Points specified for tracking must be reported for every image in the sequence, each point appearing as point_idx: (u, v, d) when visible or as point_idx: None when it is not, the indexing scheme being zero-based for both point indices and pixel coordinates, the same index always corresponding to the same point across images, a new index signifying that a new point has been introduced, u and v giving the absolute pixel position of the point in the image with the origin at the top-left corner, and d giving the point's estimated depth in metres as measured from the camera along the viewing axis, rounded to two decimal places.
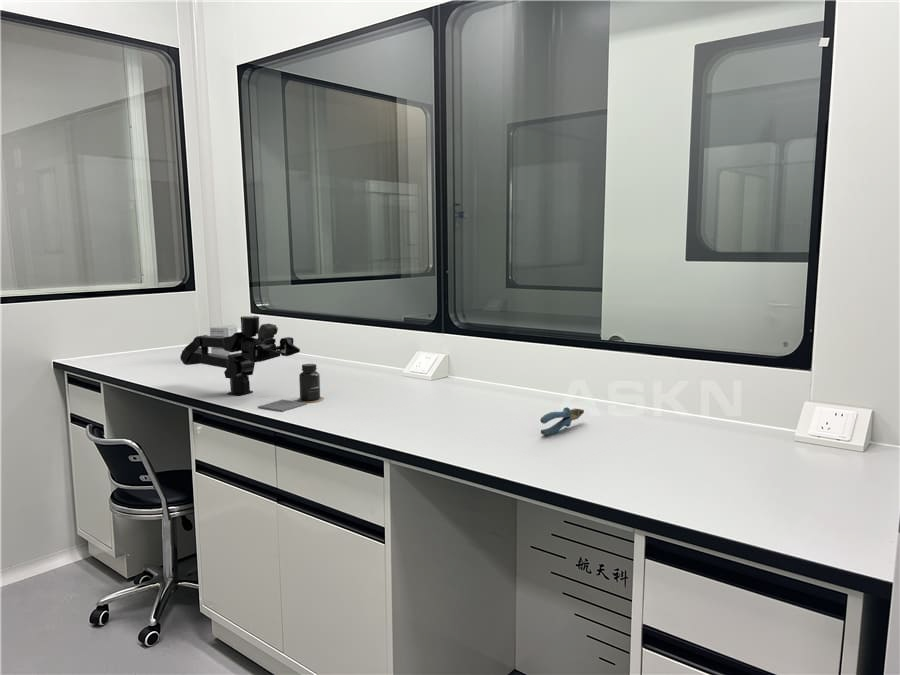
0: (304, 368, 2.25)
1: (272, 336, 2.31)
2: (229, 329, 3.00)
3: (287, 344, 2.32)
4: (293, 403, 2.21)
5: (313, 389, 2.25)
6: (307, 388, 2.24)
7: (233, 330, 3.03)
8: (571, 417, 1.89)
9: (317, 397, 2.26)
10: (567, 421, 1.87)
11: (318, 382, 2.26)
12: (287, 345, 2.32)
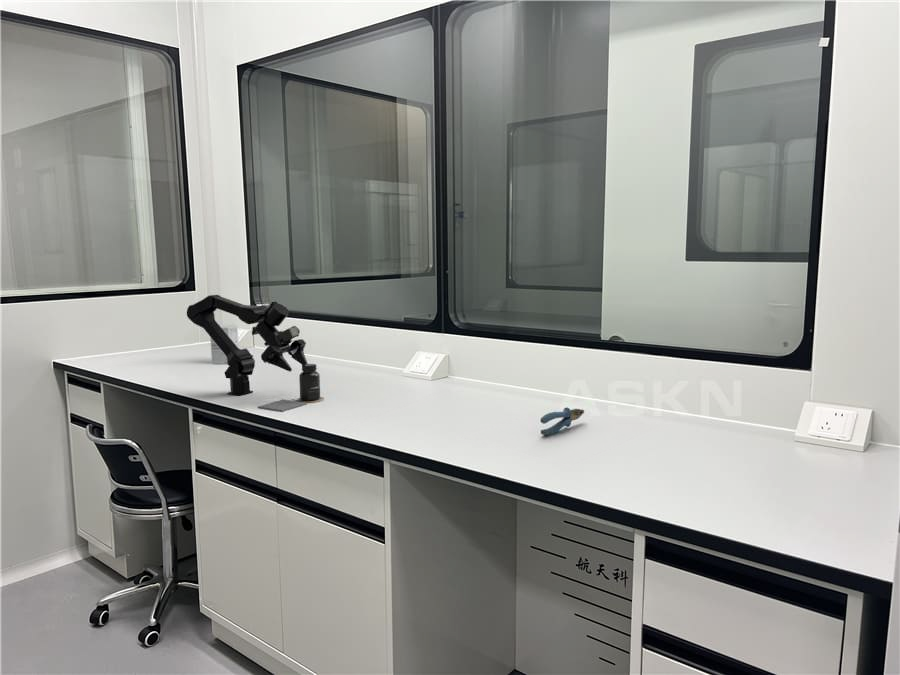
0: (304, 368, 2.25)
1: (291, 338, 2.30)
2: (229, 329, 3.00)
3: (299, 350, 2.33)
4: (293, 403, 2.21)
5: (313, 389, 2.25)
6: (307, 388, 2.24)
7: (233, 330, 3.03)
8: (571, 417, 1.89)
9: (317, 397, 2.26)
10: (567, 421, 1.87)
11: (318, 382, 2.26)
12: (298, 351, 2.34)
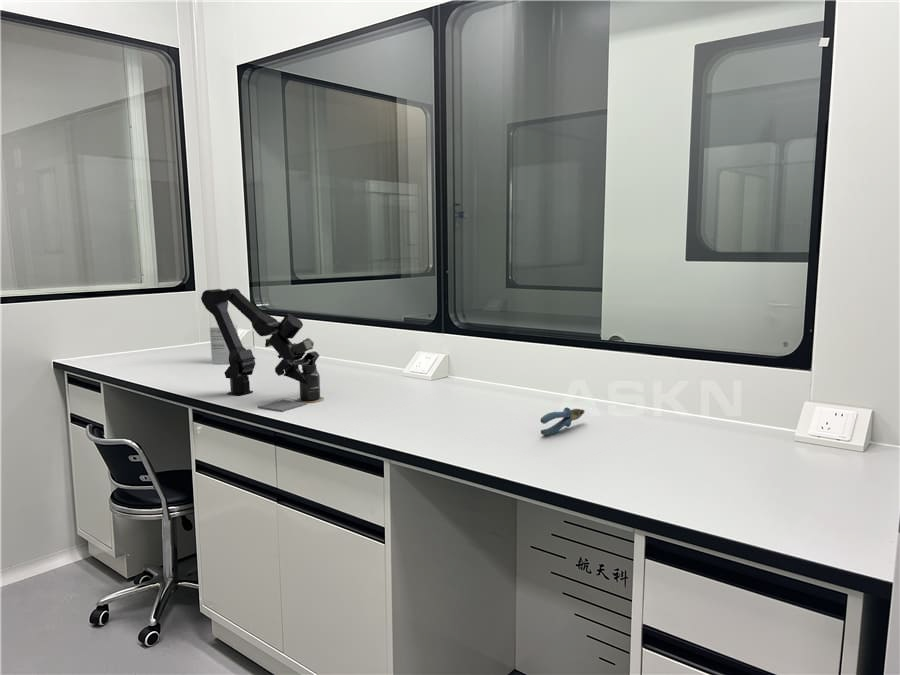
0: (304, 368, 2.25)
1: (304, 351, 2.29)
2: None
3: (311, 363, 2.31)
4: (293, 403, 2.21)
5: (313, 389, 2.25)
6: (307, 388, 2.24)
7: None
8: (571, 417, 1.89)
9: (317, 397, 2.26)
10: (567, 421, 1.87)
11: (318, 382, 2.26)
12: None
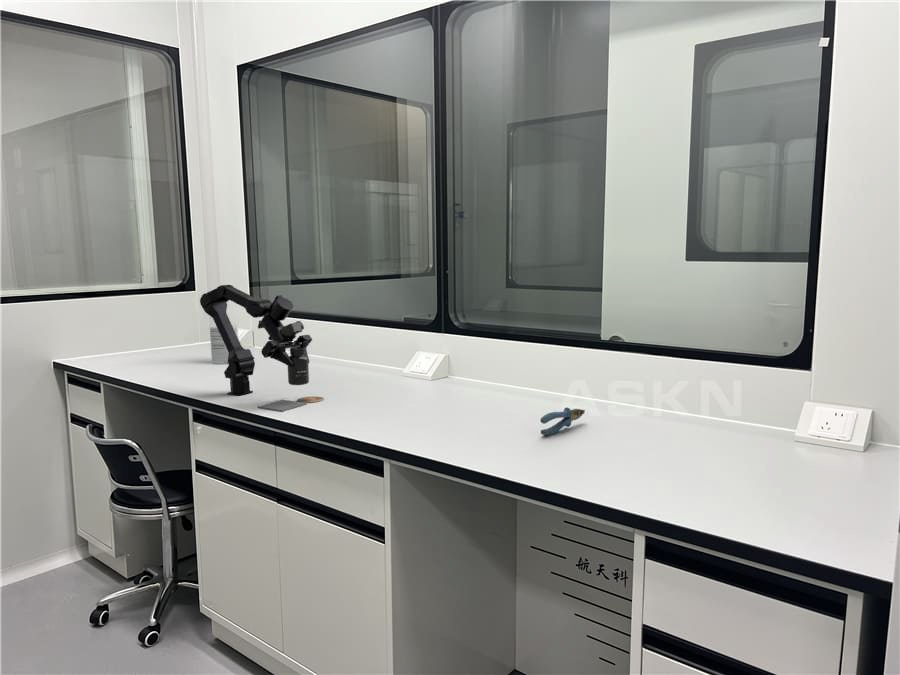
0: (291, 351, 2.20)
1: (294, 333, 2.24)
2: None
3: (301, 346, 2.26)
4: (293, 403, 2.21)
5: (300, 373, 2.20)
6: (293, 371, 2.20)
7: None
8: (571, 417, 1.89)
9: (304, 381, 2.21)
10: (567, 421, 1.87)
11: (306, 366, 2.21)
12: None
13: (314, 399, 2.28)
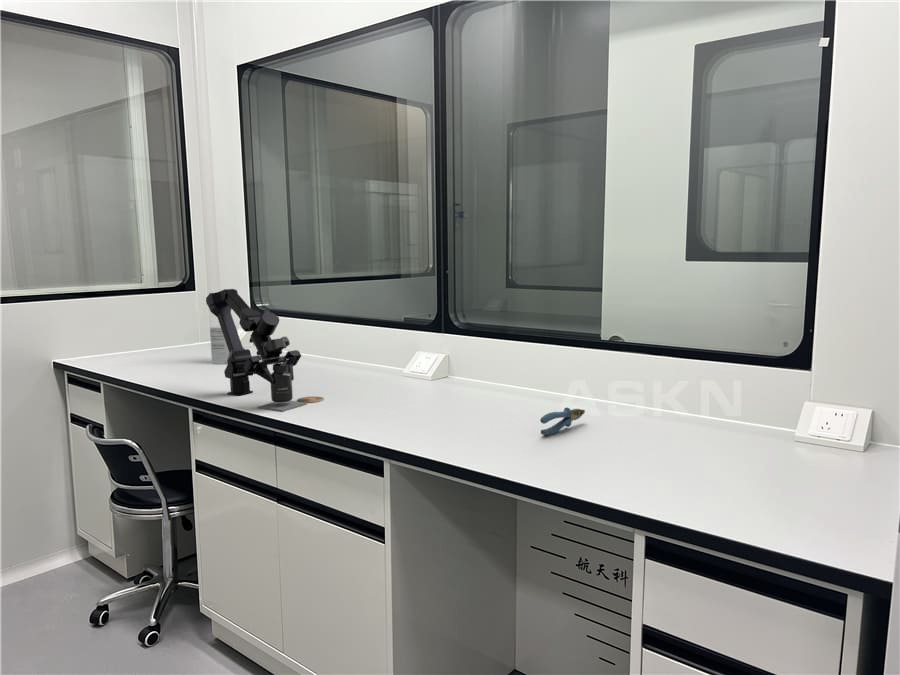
0: (273, 368, 2.17)
1: (280, 349, 2.21)
2: None
3: (287, 363, 2.22)
4: (293, 403, 2.21)
5: (280, 390, 2.16)
6: (274, 388, 2.16)
7: None
8: (572, 417, 1.89)
9: (286, 399, 2.17)
10: (567, 421, 1.87)
11: (287, 383, 2.17)
12: (287, 363, 2.22)
13: (314, 399, 2.28)
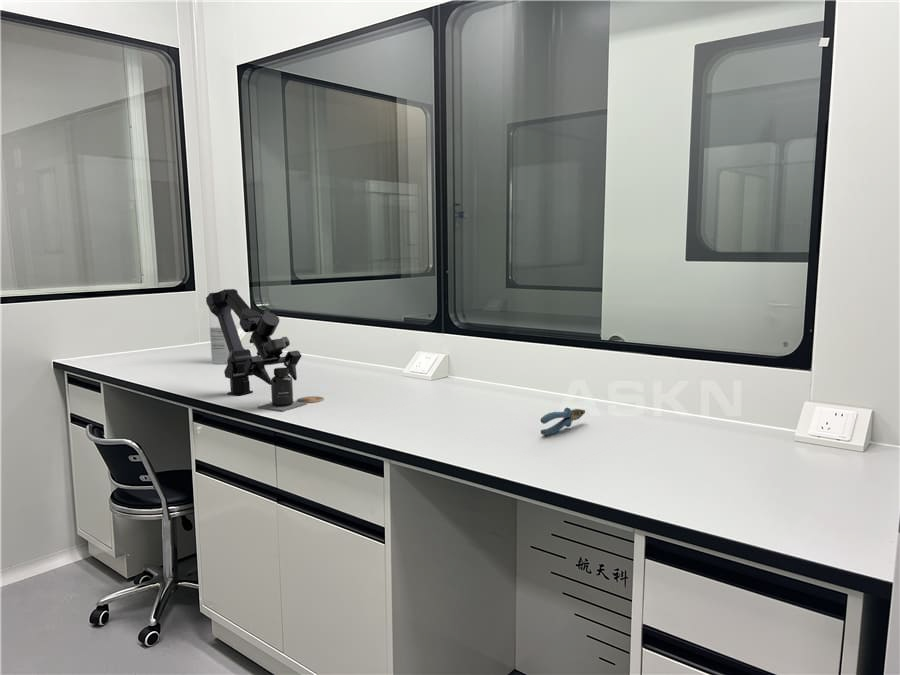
0: (274, 372, 2.17)
1: (280, 349, 2.20)
2: None
3: (290, 362, 2.23)
4: (293, 403, 2.21)
5: (281, 394, 2.16)
6: (275, 392, 2.16)
7: None
8: (572, 417, 1.89)
9: (286, 403, 2.17)
10: (568, 421, 1.87)
11: (288, 387, 2.17)
12: (290, 363, 2.23)
13: (314, 399, 2.28)
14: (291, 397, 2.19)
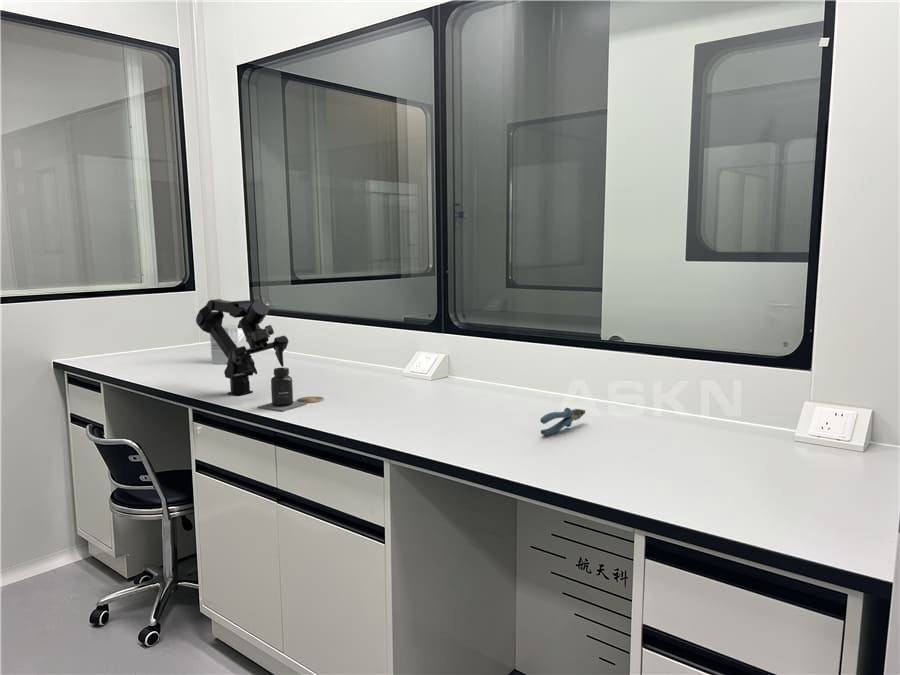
0: (274, 372, 2.17)
1: (265, 338, 2.26)
2: (229, 329, 3.00)
3: (277, 349, 2.28)
4: (293, 403, 2.21)
5: (281, 394, 2.16)
6: (275, 392, 2.16)
7: (233, 330, 3.03)
8: (572, 417, 1.89)
9: (286, 403, 2.17)
10: (568, 421, 1.87)
11: (288, 387, 2.17)
12: (277, 349, 2.29)
13: (314, 399, 2.28)
14: (291, 397, 2.19)
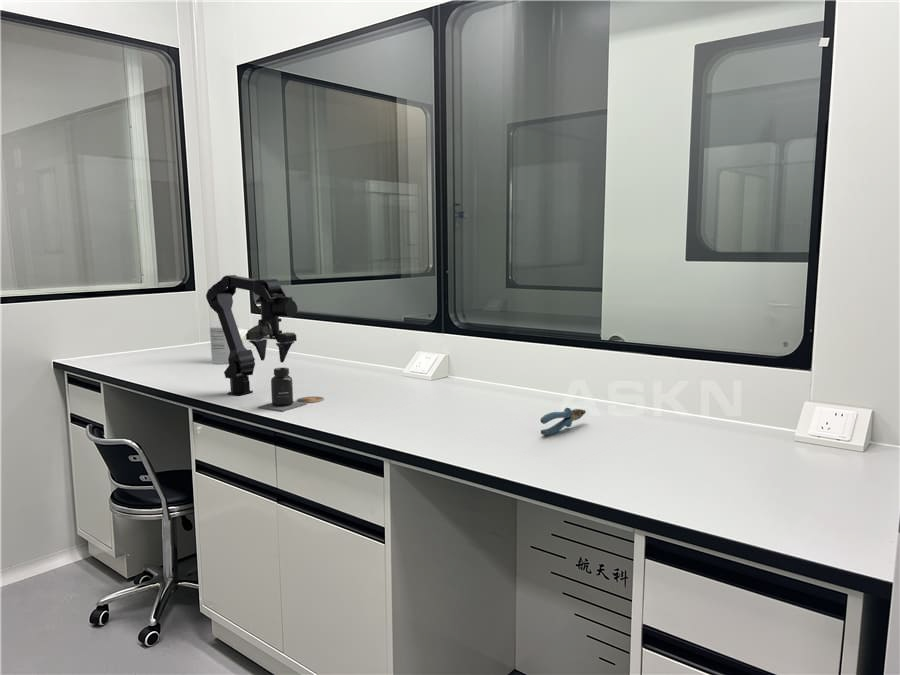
0: (274, 372, 2.17)
1: None
2: None
3: None
4: (293, 403, 2.21)
5: (281, 394, 2.16)
6: (275, 392, 2.16)
7: None
8: (572, 417, 1.89)
9: (286, 403, 2.17)
10: (568, 421, 1.87)
11: (288, 387, 2.17)
12: None
13: (314, 399, 2.28)
14: (291, 397, 2.19)
